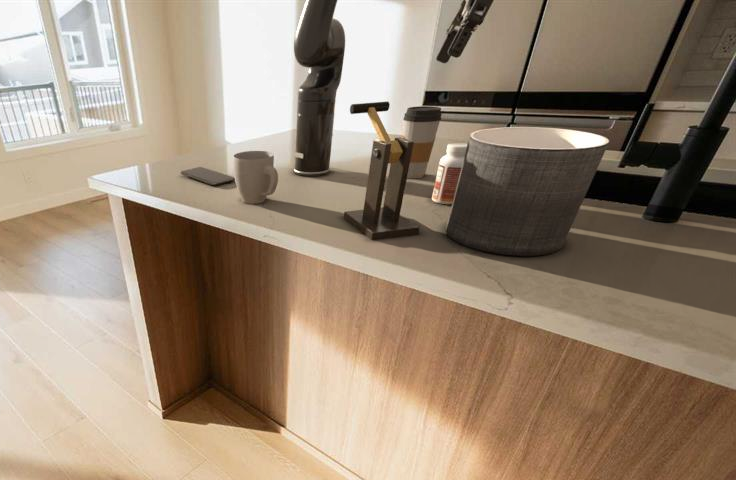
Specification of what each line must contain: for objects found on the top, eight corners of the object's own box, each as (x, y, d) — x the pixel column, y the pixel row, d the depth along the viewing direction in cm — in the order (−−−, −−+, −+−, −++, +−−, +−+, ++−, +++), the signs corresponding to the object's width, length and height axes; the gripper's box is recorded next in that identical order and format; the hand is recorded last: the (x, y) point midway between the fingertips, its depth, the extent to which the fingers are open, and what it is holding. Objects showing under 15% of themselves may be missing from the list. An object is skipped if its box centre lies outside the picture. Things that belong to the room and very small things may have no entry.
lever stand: (343, 218, 84) (352, 137, 76) (385, 213, 85) (399, 132, 77) (371, 239, 75) (385, 149, 66) (418, 234, 76) (438, 144, 67)
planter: (423, 226, 78) (445, 133, 69) (502, 213, 82) (532, 123, 73) (499, 264, 64) (538, 154, 55) (590, 247, 68) (642, 140, 59)
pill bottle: (469, 201, 89) (485, 144, 83) (451, 207, 86) (467, 149, 80) (442, 194, 93) (455, 140, 87) (424, 200, 91) (437, 144, 84)
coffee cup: (433, 178, 104) (449, 109, 95) (399, 180, 104) (412, 111, 95) (421, 170, 110) (435, 105, 102) (389, 171, 111) (400, 107, 102)
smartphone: (213, 183, 106) (179, 171, 117) (213, 187, 107) (179, 175, 117) (236, 177, 110) (201, 166, 120) (236, 181, 111) (201, 170, 121)
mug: (226, 199, 98) (224, 155, 92) (256, 192, 102) (256, 148, 96) (260, 212, 90) (260, 164, 84) (290, 203, 94) (292, 156, 88)
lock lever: (348, 112, 78) (352, 100, 76) (383, 109, 79) (388, 97, 77) (372, 165, 73) (377, 153, 70) (410, 161, 73) (416, 150, 71)
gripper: (470, -49, 74) (419, 56, 83) (499, -82, 62) (436, 45, 70) (510, -33, 74) (455, 70, 82) (547, -64, 62) (478, 62, 70)
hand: (446, 59), depth 76 cm, fingers open, 8 cm apart
